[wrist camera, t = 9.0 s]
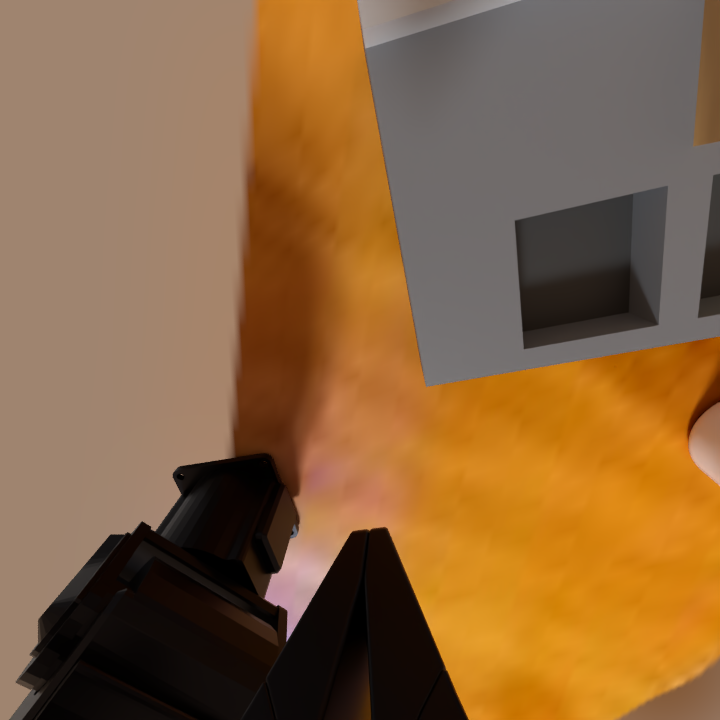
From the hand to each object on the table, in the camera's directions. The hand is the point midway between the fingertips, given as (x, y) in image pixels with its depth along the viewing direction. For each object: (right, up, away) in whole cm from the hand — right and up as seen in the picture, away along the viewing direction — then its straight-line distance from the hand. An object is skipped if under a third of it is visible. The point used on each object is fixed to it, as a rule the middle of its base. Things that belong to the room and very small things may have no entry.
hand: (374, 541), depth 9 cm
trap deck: (+10, +12, +7) cm, 17 cm away
